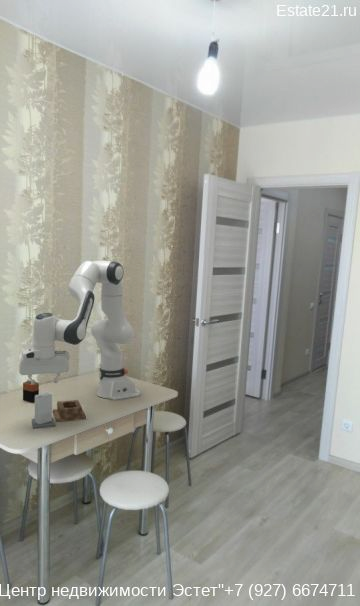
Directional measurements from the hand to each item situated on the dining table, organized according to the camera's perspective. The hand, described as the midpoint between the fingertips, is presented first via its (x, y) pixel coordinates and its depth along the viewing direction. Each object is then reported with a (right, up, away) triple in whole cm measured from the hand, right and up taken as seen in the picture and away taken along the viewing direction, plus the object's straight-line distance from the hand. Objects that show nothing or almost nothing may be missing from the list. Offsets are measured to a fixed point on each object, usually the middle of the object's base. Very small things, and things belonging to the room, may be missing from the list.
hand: (44, 383), depth 192 cm
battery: (-16, -14, +30) cm, 37 cm away
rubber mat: (-1, -18, +2) cm, 18 cm away
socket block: (+8, -17, +13) cm, 22 cm away
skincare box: (-1, -17, +2) cm, 17 cm away
